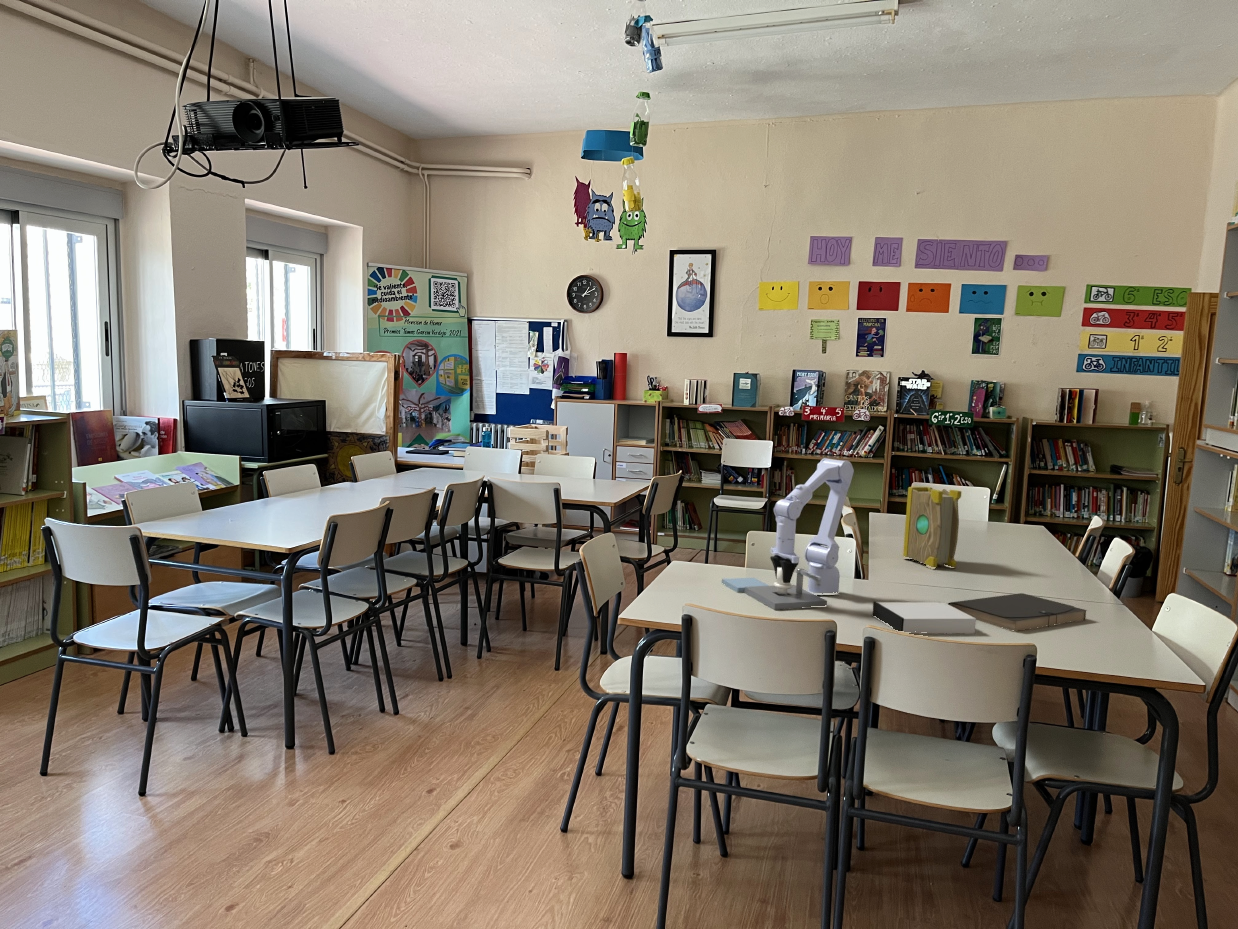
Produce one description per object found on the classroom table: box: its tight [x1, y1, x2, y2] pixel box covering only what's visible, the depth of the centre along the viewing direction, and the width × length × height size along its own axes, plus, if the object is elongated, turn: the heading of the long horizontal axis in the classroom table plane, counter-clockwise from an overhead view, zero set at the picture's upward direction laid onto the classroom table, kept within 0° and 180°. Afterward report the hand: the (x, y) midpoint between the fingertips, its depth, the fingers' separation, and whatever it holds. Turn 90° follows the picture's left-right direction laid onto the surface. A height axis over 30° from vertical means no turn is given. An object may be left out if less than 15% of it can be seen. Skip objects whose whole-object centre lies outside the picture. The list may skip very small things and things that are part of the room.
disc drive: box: [871, 601, 977, 635], centre depth 242 cm, size 18×22×5 cm
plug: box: [773, 567, 793, 594], centre depth 263 cm, size 5×5×8 cm
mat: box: [721, 577, 770, 593], centre depth 278 cm, size 12×12×2 cm
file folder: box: [947, 592, 1088, 632], centre depth 257 cm, size 33×4×24 cm
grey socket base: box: [743, 573, 828, 611], centre depth 263 cm, size 18×20×8 cm
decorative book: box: [902, 486, 962, 568], centre depth 325 cm, size 20×11×30 cm, turn 18°
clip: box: [795, 567, 821, 586], centre depth 260 cm, size 12×2×3 cm, turn 19°
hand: (783, 580), depth 263 cm, fingers closed on plug, 4 cm apart
